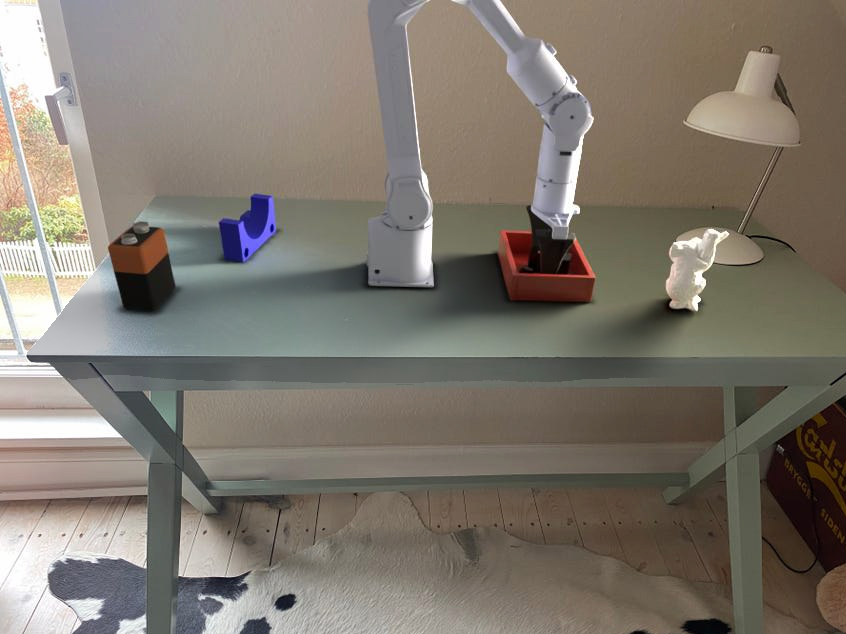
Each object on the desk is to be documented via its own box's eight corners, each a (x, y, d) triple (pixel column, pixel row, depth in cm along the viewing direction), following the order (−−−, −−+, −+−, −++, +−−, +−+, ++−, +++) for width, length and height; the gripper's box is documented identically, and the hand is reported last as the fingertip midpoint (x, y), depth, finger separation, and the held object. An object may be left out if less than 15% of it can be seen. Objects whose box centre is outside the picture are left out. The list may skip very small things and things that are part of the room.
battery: (177, 288, 91) (163, 220, 85) (156, 313, 86) (139, 242, 80) (145, 285, 91) (129, 217, 85) (122, 310, 85) (103, 239, 80)
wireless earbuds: (525, 263, 105) (527, 244, 103) (569, 272, 104) (572, 253, 102) (518, 275, 101) (520, 256, 100) (563, 285, 100) (566, 266, 98)
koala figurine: (699, 294, 102) (721, 221, 96) (717, 316, 97) (742, 241, 90) (647, 293, 101) (665, 220, 94) (662, 316, 96) (683, 240, 89)
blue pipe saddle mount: (249, 227, 109) (245, 192, 106) (276, 230, 109) (272, 196, 105) (214, 258, 99) (208, 220, 96) (243, 262, 99) (238, 224, 96)
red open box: (509, 300, 96) (512, 275, 94) (497, 252, 109) (500, 230, 106) (590, 302, 97) (595, 277, 95) (569, 255, 110) (573, 232, 108)
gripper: (595, 196, 89) (579, 286, 96) (573, 161, 100) (560, 243, 108) (544, 194, 88) (531, 285, 96) (527, 159, 100) (517, 242, 107)
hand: (543, 263), depth 102 cm, fingers open, 7 cm apart
